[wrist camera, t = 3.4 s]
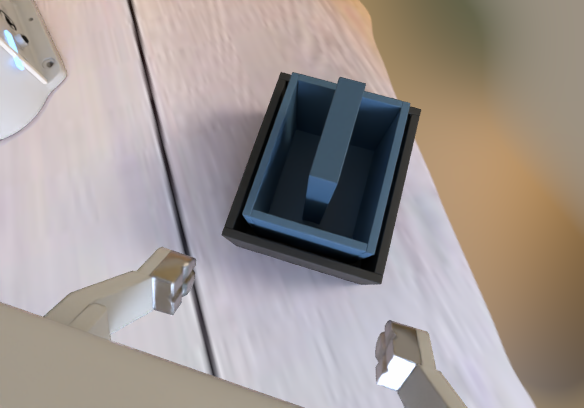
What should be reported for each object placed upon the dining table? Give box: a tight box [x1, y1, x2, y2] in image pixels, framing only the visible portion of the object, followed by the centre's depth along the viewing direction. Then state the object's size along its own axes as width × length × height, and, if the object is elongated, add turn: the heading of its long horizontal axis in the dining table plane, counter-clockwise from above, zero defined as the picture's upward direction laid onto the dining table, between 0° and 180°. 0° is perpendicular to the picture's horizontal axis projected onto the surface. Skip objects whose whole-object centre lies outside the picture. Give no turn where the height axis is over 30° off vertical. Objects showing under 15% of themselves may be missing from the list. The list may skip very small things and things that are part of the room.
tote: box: [222, 72, 421, 285], centre depth 34 cm, size 18×15×8 cm
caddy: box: [242, 72, 410, 263], centre depth 29 cm, size 14×11×15 cm
